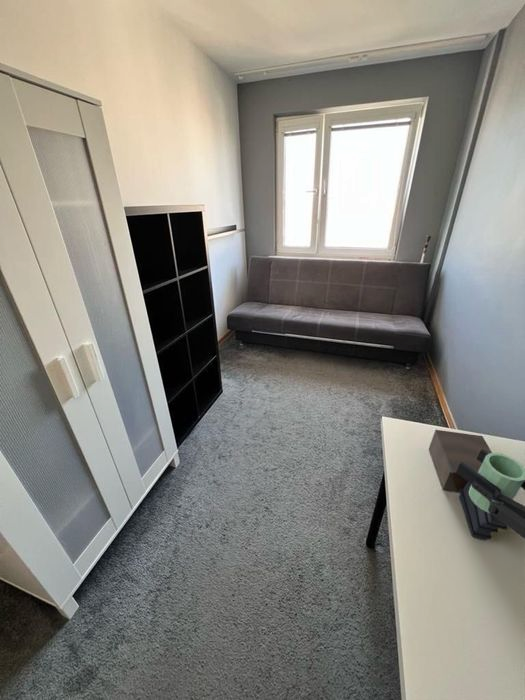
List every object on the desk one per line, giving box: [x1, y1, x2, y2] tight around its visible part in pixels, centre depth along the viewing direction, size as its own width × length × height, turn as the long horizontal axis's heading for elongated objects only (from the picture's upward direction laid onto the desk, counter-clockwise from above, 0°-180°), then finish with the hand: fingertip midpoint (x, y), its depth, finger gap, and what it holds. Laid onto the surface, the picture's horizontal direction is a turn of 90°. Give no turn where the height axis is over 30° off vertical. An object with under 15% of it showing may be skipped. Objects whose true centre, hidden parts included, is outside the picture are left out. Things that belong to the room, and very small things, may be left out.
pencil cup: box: [469, 452, 525, 513], centre depth 53 cm, size 6×6×10 cm
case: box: [428, 432, 468, 494], centre depth 80 cm, size 15×13×8 cm
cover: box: [434, 429, 493, 475], centre depth 78 cm, size 16×13×1 cm
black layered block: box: [458, 470, 508, 541], centre depth 67 cm, size 4×13×15 cm, turn 163°
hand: (469, 460), depth 57 cm, fingers closed on pencil cup, 6 cm apart
